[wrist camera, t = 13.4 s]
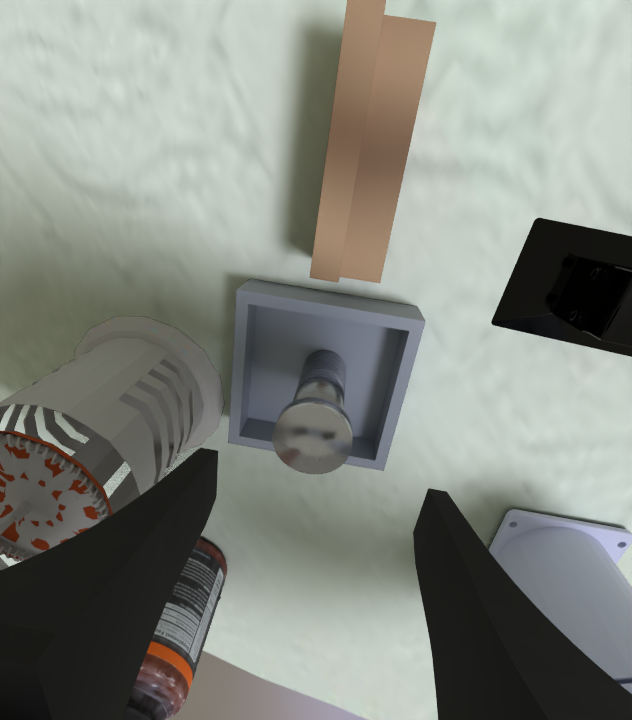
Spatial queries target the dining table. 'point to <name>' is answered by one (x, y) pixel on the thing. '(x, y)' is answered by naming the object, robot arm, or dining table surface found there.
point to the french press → (102, 430)
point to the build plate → (572, 287)
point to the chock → (368, 139)
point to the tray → (312, 333)
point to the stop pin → (316, 418)
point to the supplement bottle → (179, 637)
